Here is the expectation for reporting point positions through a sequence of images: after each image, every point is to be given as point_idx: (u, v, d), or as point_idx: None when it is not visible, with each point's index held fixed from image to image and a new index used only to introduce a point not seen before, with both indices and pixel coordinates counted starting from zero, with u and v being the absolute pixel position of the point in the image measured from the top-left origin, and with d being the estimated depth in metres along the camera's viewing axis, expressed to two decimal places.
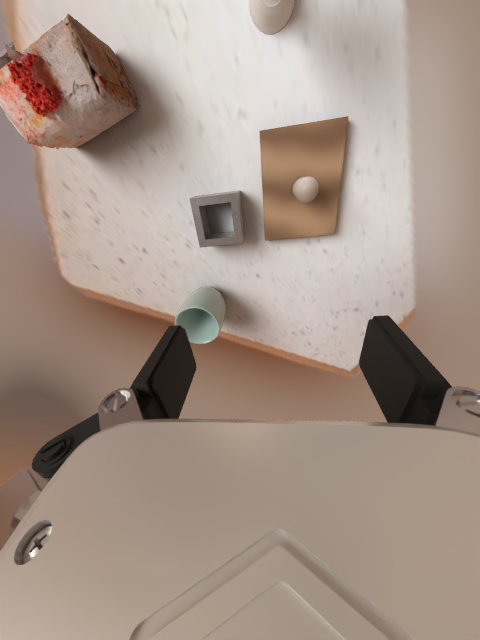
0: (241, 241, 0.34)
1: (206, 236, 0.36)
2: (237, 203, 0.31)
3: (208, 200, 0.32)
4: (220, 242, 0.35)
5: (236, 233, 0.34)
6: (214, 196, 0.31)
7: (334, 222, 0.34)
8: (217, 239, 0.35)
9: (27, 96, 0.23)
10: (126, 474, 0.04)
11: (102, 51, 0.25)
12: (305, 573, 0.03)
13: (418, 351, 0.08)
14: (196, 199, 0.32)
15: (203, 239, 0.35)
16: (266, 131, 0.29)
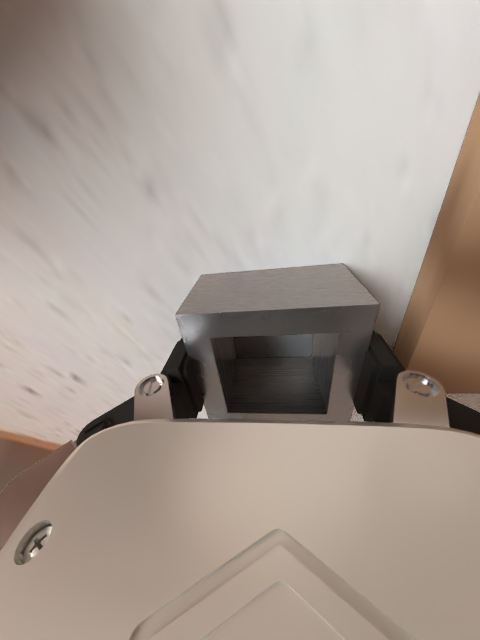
0: None
1: (230, 391, 0.12)
2: (366, 337, 0.08)
3: (249, 325, 0.08)
4: None
5: (335, 408, 0.10)
6: (275, 313, 0.08)
7: None
8: (267, 415, 0.11)
9: None
10: (126, 474, 0.04)
11: None
12: (305, 573, 0.03)
13: (378, 340, 0.08)
14: (201, 319, 0.08)
15: (222, 412, 0.11)
16: None
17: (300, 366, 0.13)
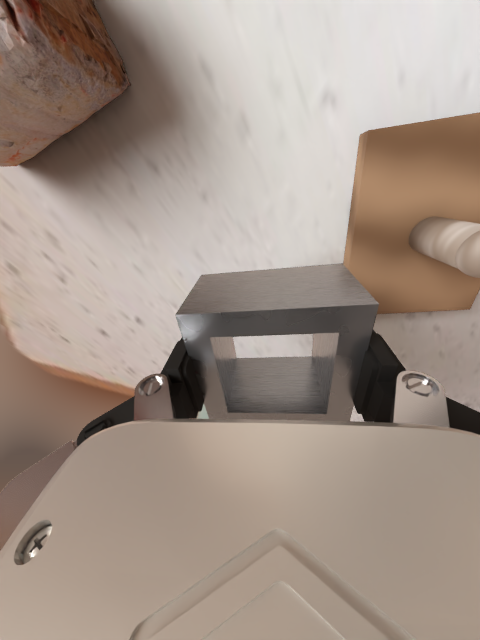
0: None
1: (230, 391, 0.12)
2: (366, 337, 0.08)
3: (249, 325, 0.08)
4: None
5: (334, 408, 0.10)
6: (275, 312, 0.08)
7: (475, 291, 0.19)
8: (267, 414, 0.11)
9: None
10: (126, 474, 0.04)
11: None
12: (305, 573, 0.03)
13: (379, 340, 0.08)
14: (201, 319, 0.08)
15: (222, 411, 0.11)
16: (382, 131, 0.14)
17: (300, 366, 0.13)
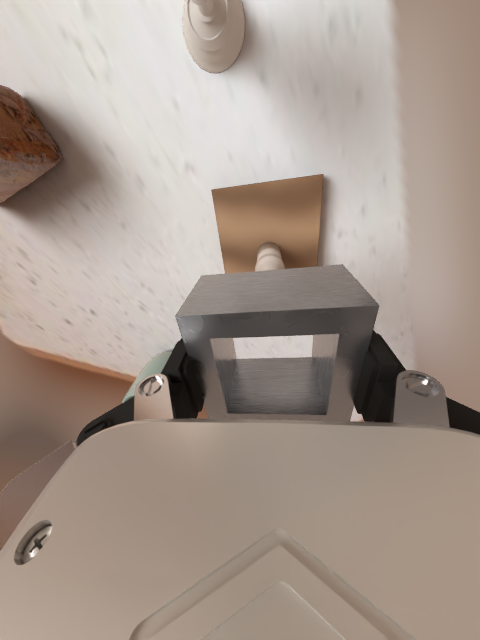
0: None
1: (230, 392, 0.12)
2: (366, 338, 0.08)
3: (249, 326, 0.08)
4: None
5: (334, 409, 0.10)
6: (275, 314, 0.08)
7: None
8: (267, 415, 0.11)
9: None
10: (126, 474, 0.04)
11: None
12: (305, 573, 0.03)
13: (378, 340, 0.08)
14: (201, 320, 0.08)
15: (222, 412, 0.11)
16: (220, 190, 0.22)
17: (300, 367, 0.13)
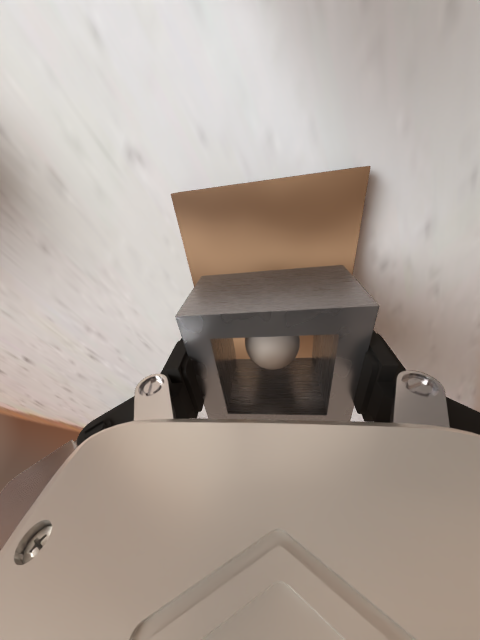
0: None
1: (230, 392, 0.12)
2: (366, 339, 0.08)
3: (249, 326, 0.08)
4: None
5: (334, 409, 0.10)
6: (275, 314, 0.08)
7: None
8: (267, 416, 0.11)
9: None
10: (126, 474, 0.04)
11: None
12: (305, 573, 0.03)
13: (379, 340, 0.08)
14: (201, 320, 0.08)
15: (222, 413, 0.11)
16: (185, 195, 0.13)
17: (300, 367, 0.13)
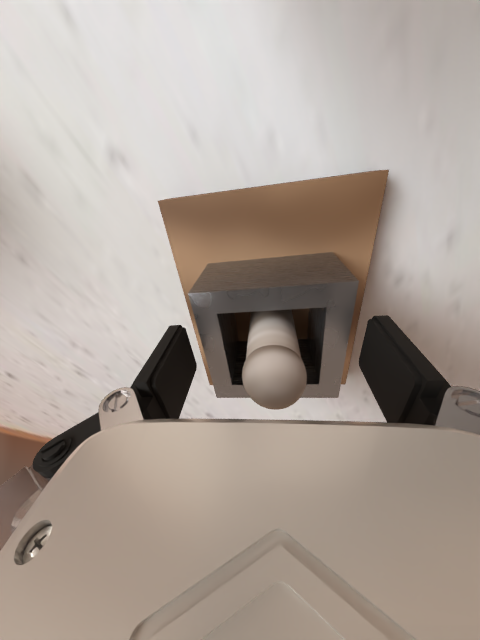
0: (335, 393, 0.12)
1: (233, 367, 0.13)
2: (349, 311, 0.09)
3: (251, 301, 0.09)
4: None
5: (325, 378, 0.11)
6: (272, 290, 0.09)
7: (345, 368, 0.16)
8: None
9: None
10: (126, 474, 0.04)
11: None
12: (305, 573, 0.03)
13: (418, 351, 0.08)
14: (210, 296, 0.10)
15: (227, 384, 0.13)
16: (174, 202, 0.11)
17: None
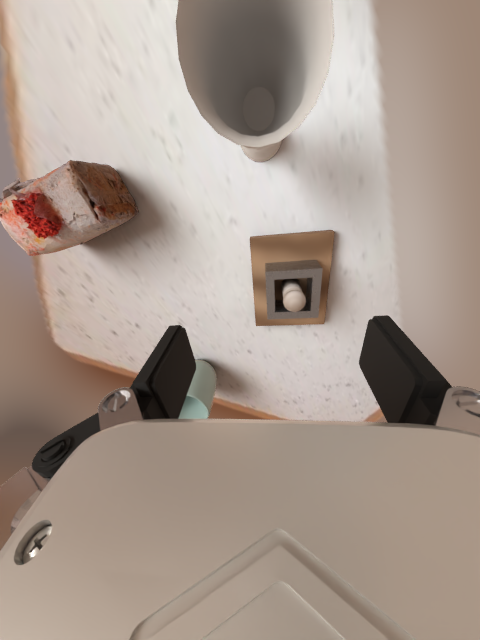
0: (317, 315, 0.30)
1: (274, 307, 0.31)
2: (320, 278, 0.27)
3: (286, 275, 0.28)
4: (292, 315, 0.31)
5: (313, 307, 0.30)
6: (294, 271, 0.27)
7: (323, 314, 0.34)
8: (289, 312, 0.30)
9: (29, 225, 0.24)
10: (126, 474, 0.04)
11: (102, 177, 0.26)
12: (305, 573, 0.03)
13: (418, 351, 0.08)
14: (273, 273, 0.28)
15: (273, 312, 0.31)
16: (256, 239, 0.30)
17: None
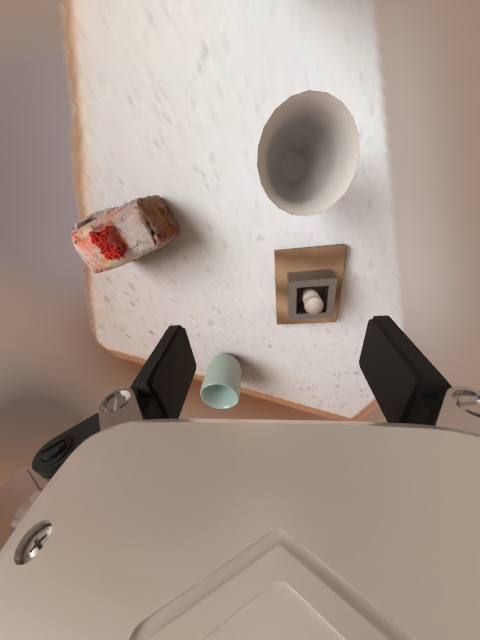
0: (331, 316, 0.36)
1: None
2: (335, 286, 0.33)
3: (307, 284, 0.33)
4: (310, 316, 0.36)
5: (328, 309, 0.35)
6: (314, 280, 0.33)
7: (336, 314, 0.40)
8: (308, 314, 0.36)
9: (102, 251, 0.30)
10: (126, 474, 0.04)
11: (156, 207, 0.31)
12: (305, 573, 0.03)
13: (418, 351, 0.08)
14: (295, 282, 0.33)
15: (294, 313, 0.36)
16: (280, 253, 0.35)
17: None
